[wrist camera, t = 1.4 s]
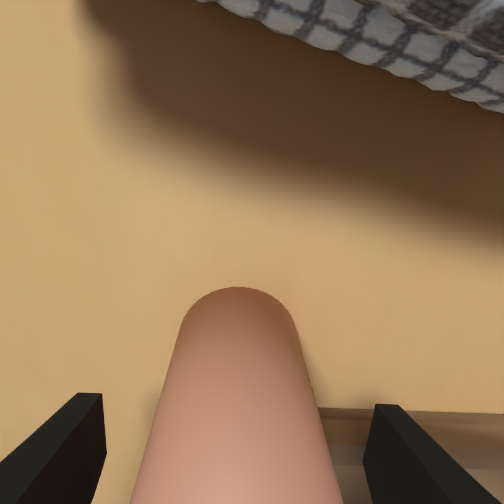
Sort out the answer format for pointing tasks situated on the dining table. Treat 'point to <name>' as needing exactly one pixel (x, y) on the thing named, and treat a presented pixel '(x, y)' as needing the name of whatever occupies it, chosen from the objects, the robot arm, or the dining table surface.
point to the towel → (401, 38)
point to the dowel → (237, 412)
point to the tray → (437, 426)
